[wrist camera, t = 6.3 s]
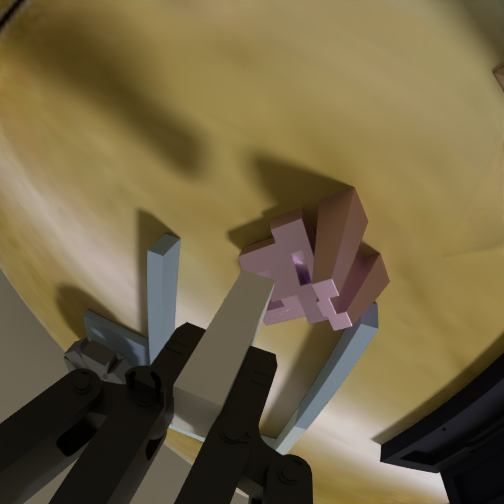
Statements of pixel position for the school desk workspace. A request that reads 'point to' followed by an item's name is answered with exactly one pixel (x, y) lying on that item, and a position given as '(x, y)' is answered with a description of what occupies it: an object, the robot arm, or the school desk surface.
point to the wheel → (97, 360)
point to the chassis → (163, 323)
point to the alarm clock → (500, 76)
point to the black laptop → (460, 441)
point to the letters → (318, 264)
